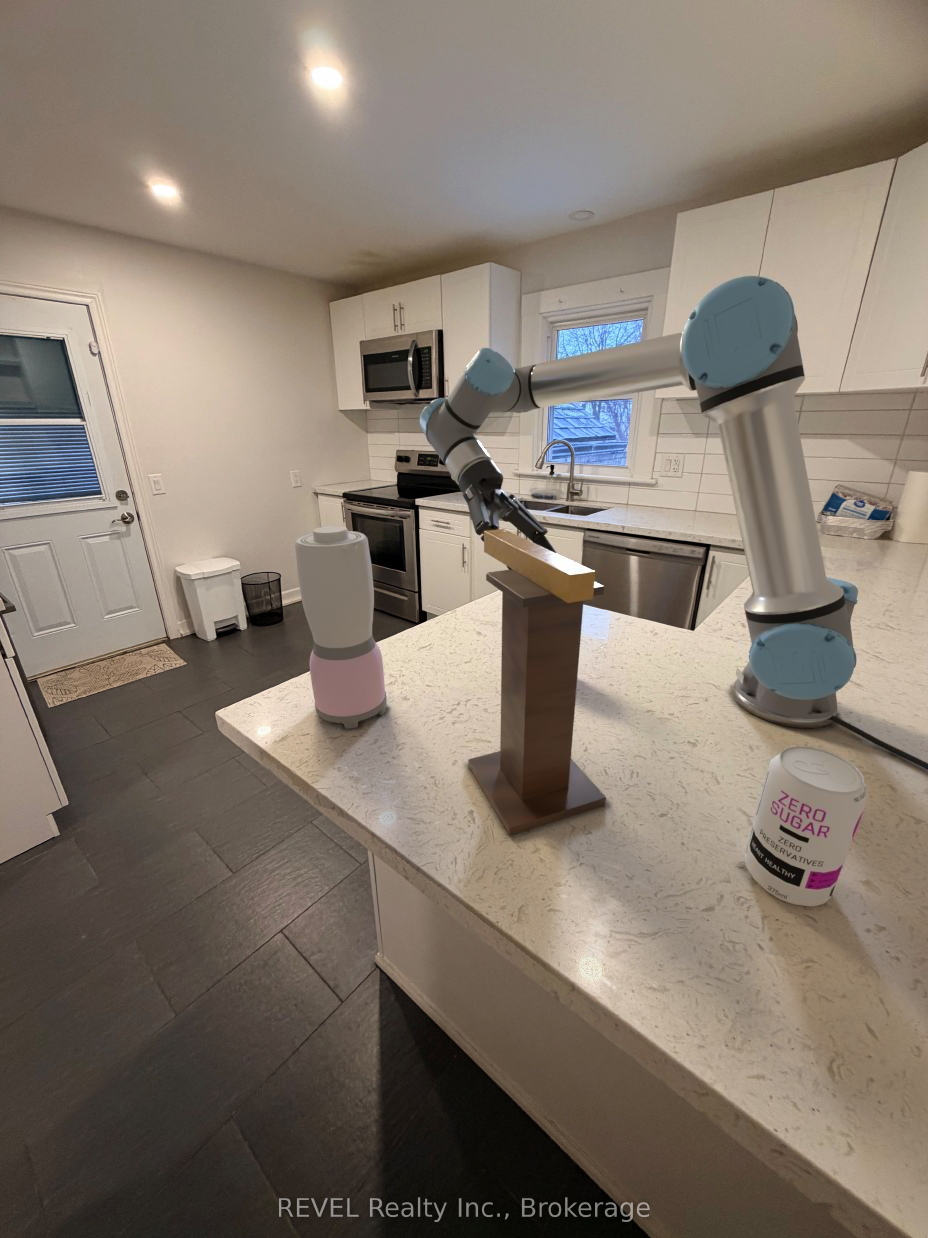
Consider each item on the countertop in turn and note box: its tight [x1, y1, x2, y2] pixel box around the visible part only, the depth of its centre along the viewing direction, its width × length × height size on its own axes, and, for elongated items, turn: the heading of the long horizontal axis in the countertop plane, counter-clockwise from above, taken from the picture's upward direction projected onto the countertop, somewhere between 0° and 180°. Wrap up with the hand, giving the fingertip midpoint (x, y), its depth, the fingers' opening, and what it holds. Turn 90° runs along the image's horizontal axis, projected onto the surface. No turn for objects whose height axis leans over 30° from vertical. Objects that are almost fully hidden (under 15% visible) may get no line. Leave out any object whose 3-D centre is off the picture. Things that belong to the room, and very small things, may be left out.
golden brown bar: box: [483, 528, 596, 603], centre depth 59 cm, size 22×3×3 cm, turn 21°
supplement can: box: [743, 744, 869, 907], centre depth 52 cm, size 8×8×15 cm
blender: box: [294, 525, 387, 730], centre depth 82 cm, size 16×12×32 cm
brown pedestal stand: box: [467, 569, 607, 836], centre depth 63 cm, size 14×14×30 cm
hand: (539, 567), depth 82 cm, fingers open, 13 cm apart
